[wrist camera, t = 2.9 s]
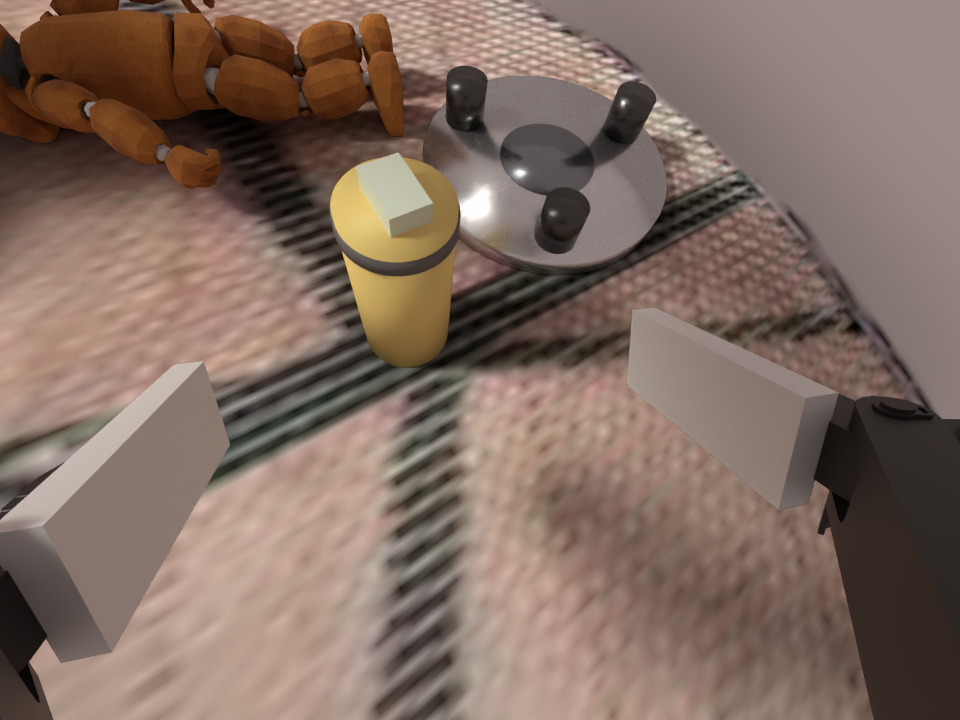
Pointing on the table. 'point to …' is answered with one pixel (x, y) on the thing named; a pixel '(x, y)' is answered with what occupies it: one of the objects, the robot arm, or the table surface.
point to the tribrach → (548, 169)
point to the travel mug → (399, 253)
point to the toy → (184, 76)
